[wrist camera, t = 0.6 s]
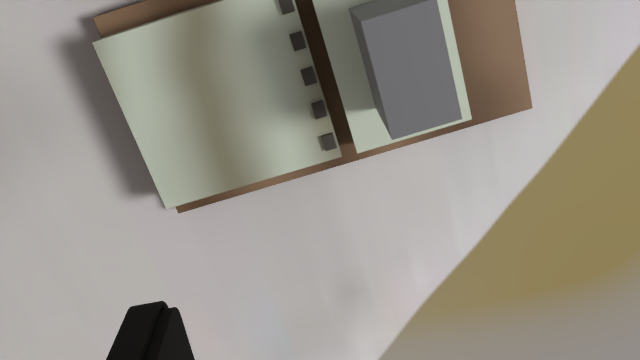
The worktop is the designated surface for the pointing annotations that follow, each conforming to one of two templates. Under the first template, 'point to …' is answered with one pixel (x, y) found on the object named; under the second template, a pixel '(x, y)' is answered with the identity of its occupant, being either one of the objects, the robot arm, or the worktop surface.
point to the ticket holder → (268, 89)
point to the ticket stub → (394, 67)
